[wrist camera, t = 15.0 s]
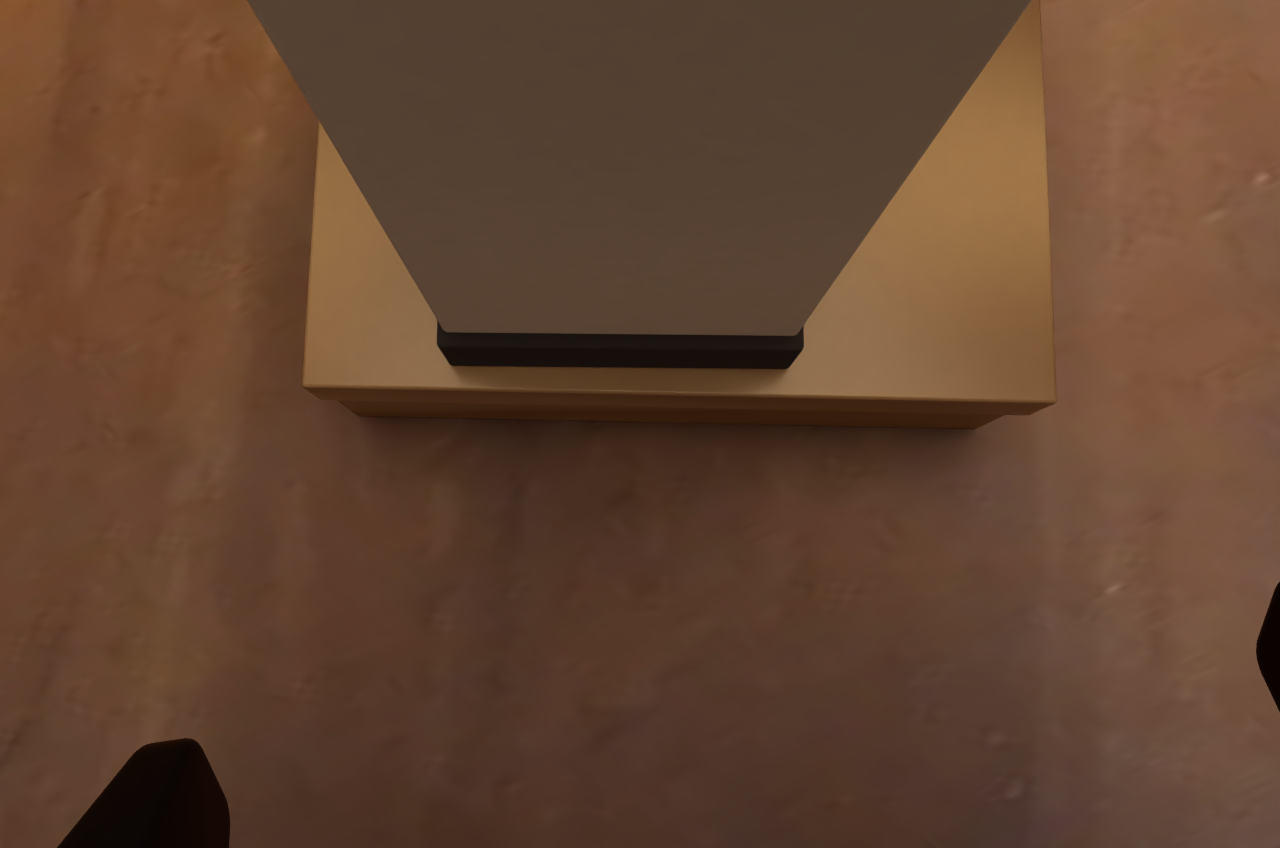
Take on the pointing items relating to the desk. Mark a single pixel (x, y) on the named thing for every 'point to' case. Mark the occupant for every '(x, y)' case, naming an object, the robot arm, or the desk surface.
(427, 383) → the platform
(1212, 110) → the desk surface
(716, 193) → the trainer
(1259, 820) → the desk surface
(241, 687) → the desk surface
